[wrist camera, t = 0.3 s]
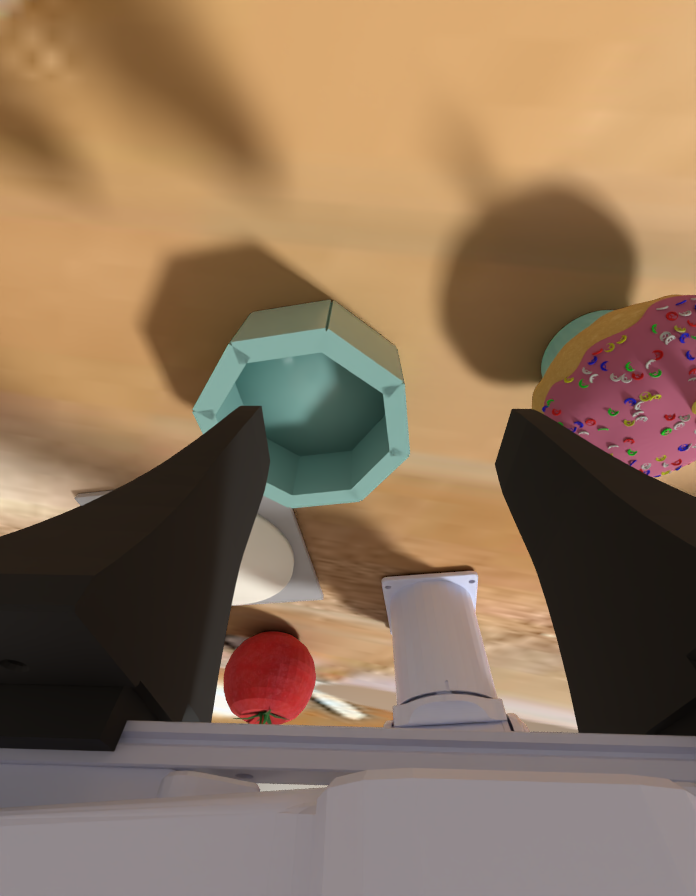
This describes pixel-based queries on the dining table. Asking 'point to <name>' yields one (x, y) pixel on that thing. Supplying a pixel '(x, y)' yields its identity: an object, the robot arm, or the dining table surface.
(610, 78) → the dining table surface
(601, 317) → the cupcake
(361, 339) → the bowl
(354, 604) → the dining table surface
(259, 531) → the lid
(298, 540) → the mat
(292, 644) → the tomato
